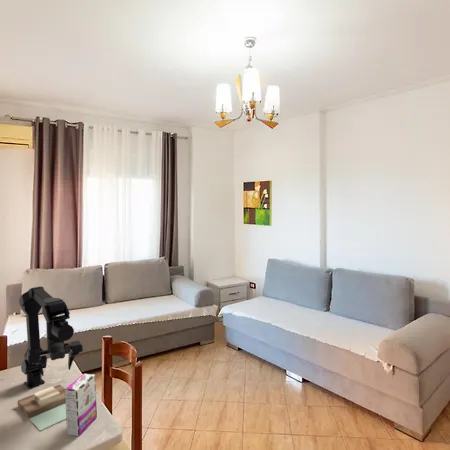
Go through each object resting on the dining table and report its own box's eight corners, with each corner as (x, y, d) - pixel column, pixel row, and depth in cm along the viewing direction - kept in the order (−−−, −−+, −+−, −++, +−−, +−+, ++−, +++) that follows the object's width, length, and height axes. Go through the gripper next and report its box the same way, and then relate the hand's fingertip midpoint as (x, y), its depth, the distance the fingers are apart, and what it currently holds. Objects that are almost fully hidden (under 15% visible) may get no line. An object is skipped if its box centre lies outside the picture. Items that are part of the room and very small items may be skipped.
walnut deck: (17, 406, 136) (17, 400, 136) (59, 390, 148) (59, 384, 148) (29, 419, 128) (29, 412, 128) (72, 400, 140) (72, 394, 140)
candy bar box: (85, 415, 130) (83, 372, 129) (97, 417, 129) (96, 374, 128) (65, 435, 119) (63, 388, 118) (78, 437, 118) (77, 390, 117)
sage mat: (29, 419, 128) (29, 418, 128) (72, 400, 140) (72, 399, 140) (40, 431, 121) (40, 430, 121) (85, 410, 133) (84, 409, 133)
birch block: (34, 399, 136) (33, 393, 136) (52, 392, 142) (52, 386, 141) (41, 406, 132) (40, 400, 132) (60, 398, 137) (59, 392, 137)
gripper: (28, 346, 123) (30, 389, 124) (85, 335, 132) (86, 375, 134) (26, 335, 132) (28, 375, 133) (79, 325, 142) (80, 363, 143)
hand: (56, 372), depth 136 cm, fingers open, 9 cm apart
